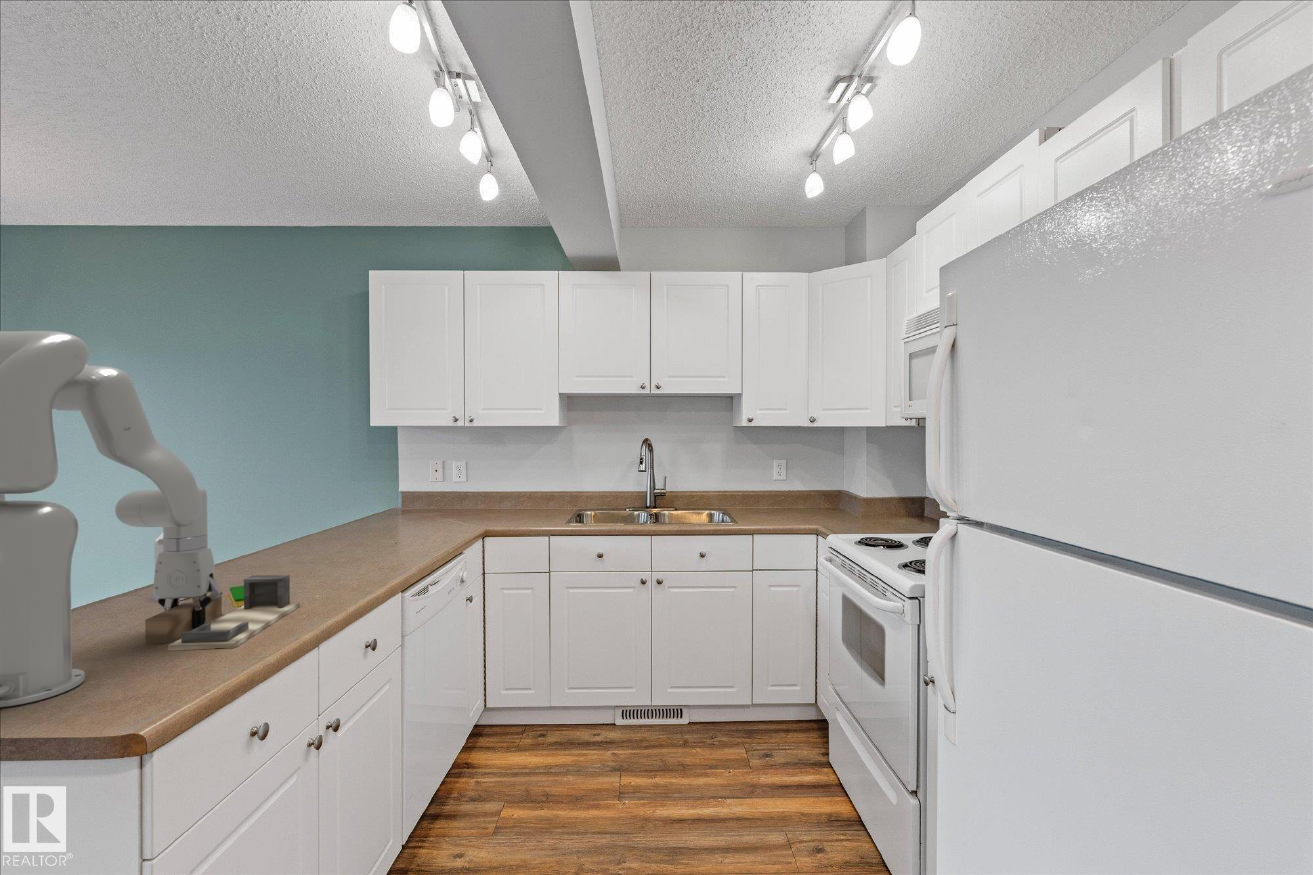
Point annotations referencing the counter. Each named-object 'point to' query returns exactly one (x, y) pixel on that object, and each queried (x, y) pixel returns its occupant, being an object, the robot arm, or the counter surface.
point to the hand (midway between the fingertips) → (186, 626)
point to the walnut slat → (177, 621)
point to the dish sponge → (237, 595)
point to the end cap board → (243, 615)
